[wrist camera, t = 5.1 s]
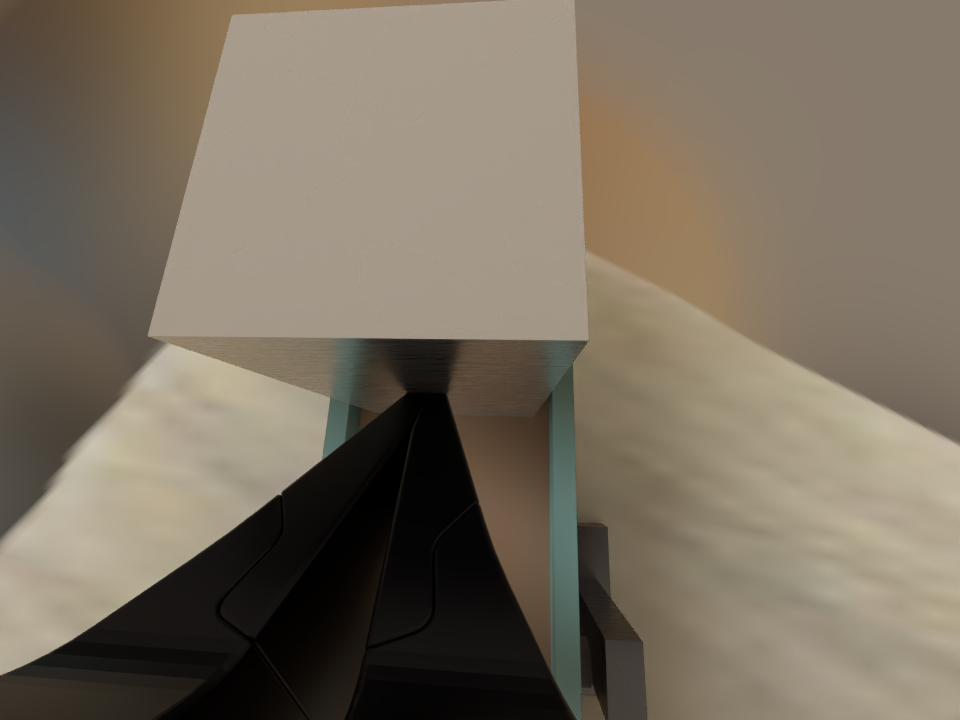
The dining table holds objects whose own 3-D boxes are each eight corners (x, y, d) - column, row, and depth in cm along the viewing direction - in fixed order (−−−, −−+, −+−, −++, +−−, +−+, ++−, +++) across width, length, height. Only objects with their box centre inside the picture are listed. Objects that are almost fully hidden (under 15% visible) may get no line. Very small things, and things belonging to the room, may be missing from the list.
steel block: (533, 416, 12) (589, 340, 4) (376, 413, 12) (146, 335, 4) (532, 271, 13) (574, -3, 5) (391, 271, 13) (232, 15, 6)
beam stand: (609, 684, 15) (674, 830, 9) (319, 661, 16) (213, 781, 10) (602, 523, 16) (655, 562, 11) (337, 510, 17) (253, 539, 11)
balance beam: (584, 1167, 10) (648, 1736, 6) (289, 1117, 11) (133, 1596, 6) (565, 290, 17) (588, 228, 12) (380, 289, 17) (336, 229, 13)
